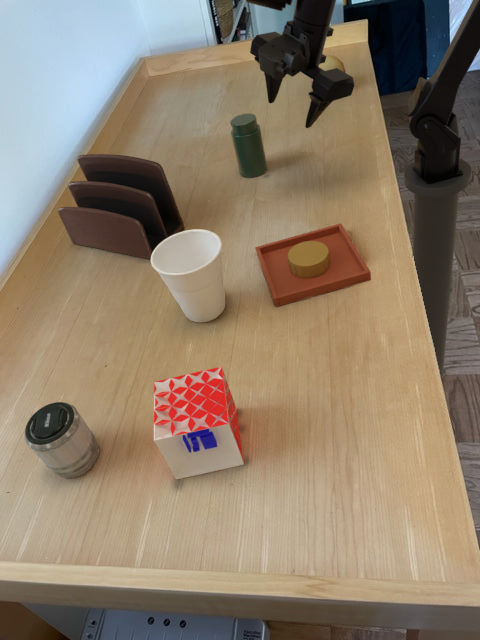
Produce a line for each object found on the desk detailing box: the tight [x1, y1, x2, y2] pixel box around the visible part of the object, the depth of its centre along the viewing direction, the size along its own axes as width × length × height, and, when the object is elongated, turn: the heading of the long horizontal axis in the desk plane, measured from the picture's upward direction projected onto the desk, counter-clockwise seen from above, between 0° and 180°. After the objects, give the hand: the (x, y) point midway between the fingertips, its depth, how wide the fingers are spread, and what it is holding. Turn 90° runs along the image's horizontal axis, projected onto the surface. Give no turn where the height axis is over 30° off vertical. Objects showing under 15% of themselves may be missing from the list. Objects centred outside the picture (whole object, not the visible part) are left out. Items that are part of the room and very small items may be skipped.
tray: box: [254, 222, 372, 307], centre depth 81 cm, size 14×13×2 cm
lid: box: [288, 241, 330, 278], centre depth 80 cm, size 6×6×2 cm
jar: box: [229, 112, 268, 179], centre depth 103 cm, size 6×6×11 cm
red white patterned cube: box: [153, 366, 245, 480], centre depth 60 cm, size 8×8×8 cm
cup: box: [150, 228, 226, 323], centre depth 76 cm, size 10×10×11 cm
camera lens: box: [24, 401, 100, 479], centre depth 62 cm, size 6×6×8 cm
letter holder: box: [57, 153, 185, 260], centre depth 93 cm, size 10×20×14 cm, turn 60°
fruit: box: [309, 54, 347, 84], centre depth 123 cm, size 8×8×8 cm
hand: (289, 114), depth 93 cm, fingers open, 9 cm apart
